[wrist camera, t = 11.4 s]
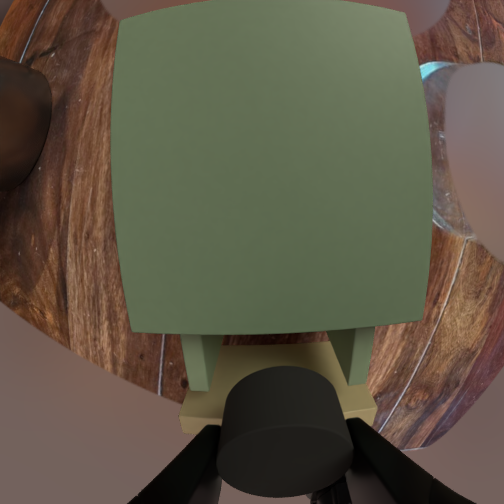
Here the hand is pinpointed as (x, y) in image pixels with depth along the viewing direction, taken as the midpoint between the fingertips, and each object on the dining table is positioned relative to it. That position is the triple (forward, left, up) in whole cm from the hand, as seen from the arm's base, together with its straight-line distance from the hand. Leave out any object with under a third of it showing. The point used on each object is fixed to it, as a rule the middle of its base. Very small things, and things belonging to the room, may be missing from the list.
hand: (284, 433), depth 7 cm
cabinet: (+8, 0, -10) cm, 13 cm away
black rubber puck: (0, 0, -1) cm, 1 cm away
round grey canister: (+14, +20, -10) cm, 26 cm away
